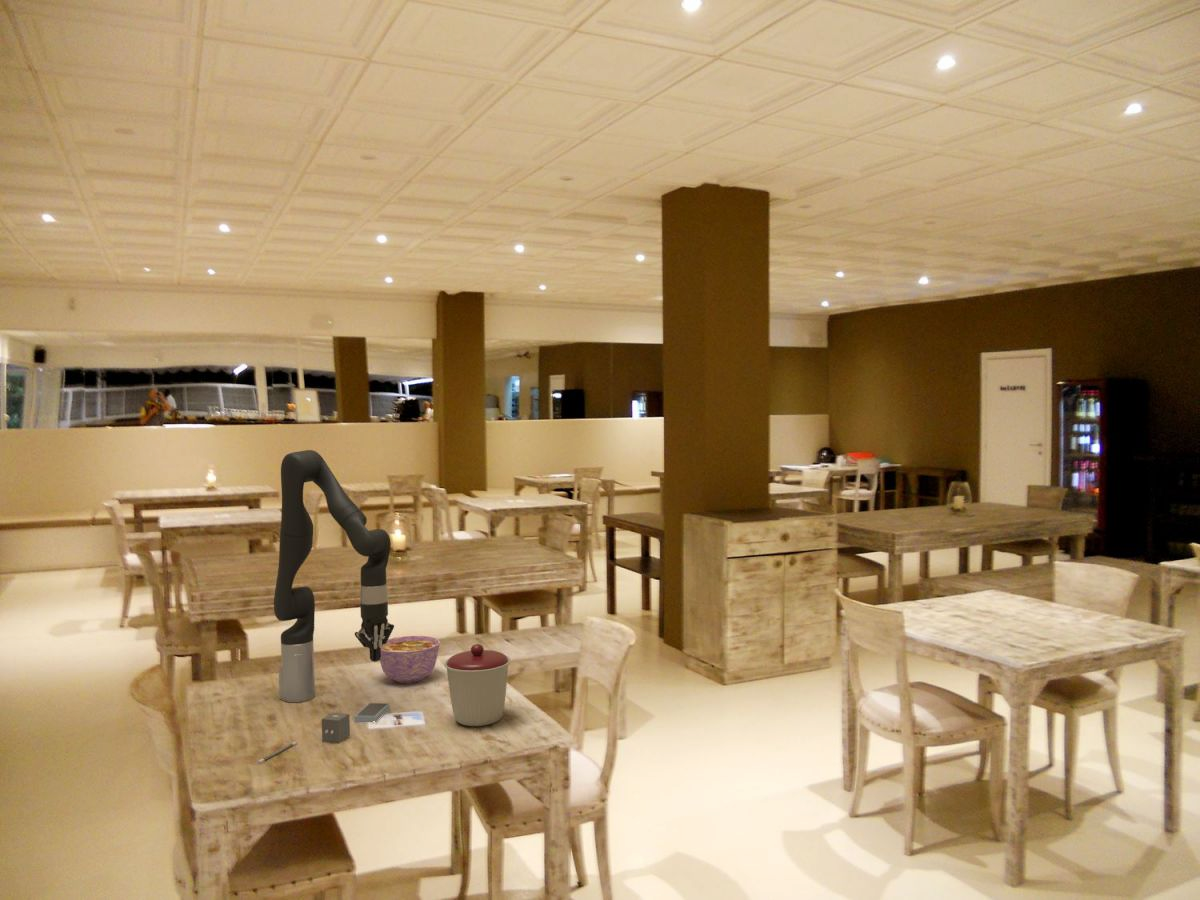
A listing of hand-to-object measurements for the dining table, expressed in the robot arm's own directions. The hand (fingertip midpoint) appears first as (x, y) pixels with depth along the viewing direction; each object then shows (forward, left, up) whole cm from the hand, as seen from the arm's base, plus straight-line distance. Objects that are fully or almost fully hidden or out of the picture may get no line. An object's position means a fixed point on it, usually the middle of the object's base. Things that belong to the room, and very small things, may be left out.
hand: (375, 660), depth 243 cm
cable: (-9, -33, -15) cm, 37 cm away
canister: (+31, 0, -15) cm, 35 cm away
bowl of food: (-6, +30, -15) cm, 34 cm away
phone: (0, -3, -15) cm, 16 cm away
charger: (0, -21, -15) cm, 26 cm away
